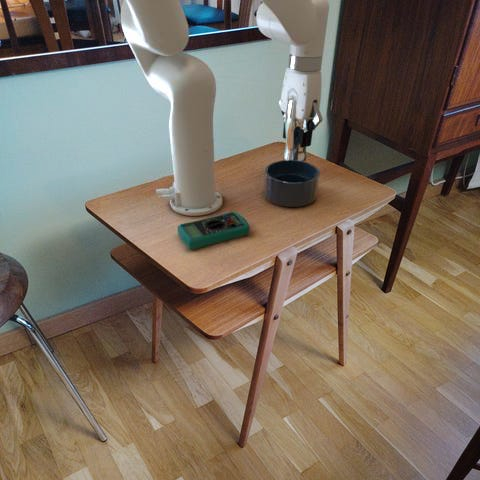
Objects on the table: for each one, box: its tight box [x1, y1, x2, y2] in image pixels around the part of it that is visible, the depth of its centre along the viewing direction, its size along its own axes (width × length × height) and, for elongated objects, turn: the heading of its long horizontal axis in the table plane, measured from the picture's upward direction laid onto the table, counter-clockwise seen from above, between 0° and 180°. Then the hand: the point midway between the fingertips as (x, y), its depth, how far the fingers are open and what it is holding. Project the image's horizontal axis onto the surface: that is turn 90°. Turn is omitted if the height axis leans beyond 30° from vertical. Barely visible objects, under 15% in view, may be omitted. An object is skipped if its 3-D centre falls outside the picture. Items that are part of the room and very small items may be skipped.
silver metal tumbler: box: [282, 98, 312, 162], centre depth 113 cm, size 7×7×15 cm
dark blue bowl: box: [263, 159, 320, 208], centre depth 110 cm, size 13×13×6 cm
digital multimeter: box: [177, 211, 250, 250], centre depth 97 cm, size 7×15×3 cm, turn 117°
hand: (296, 141), depth 115 cm, fingers closed on silver metal tumbler, 6 cm apart
